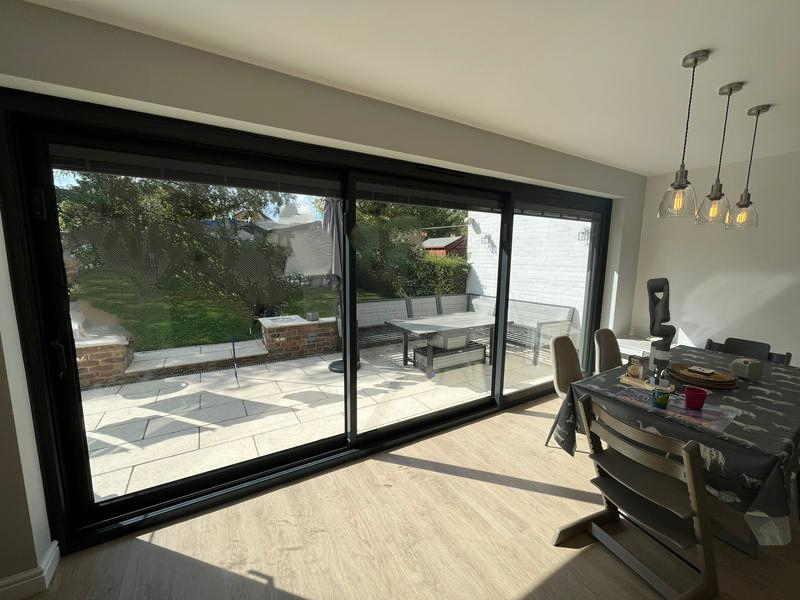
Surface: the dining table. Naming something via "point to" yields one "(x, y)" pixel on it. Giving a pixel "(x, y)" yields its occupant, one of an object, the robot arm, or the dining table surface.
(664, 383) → the wing block
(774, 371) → the dining table surface
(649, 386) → the jig
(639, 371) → the coffee box
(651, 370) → the robot arm
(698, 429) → the dining table surface
